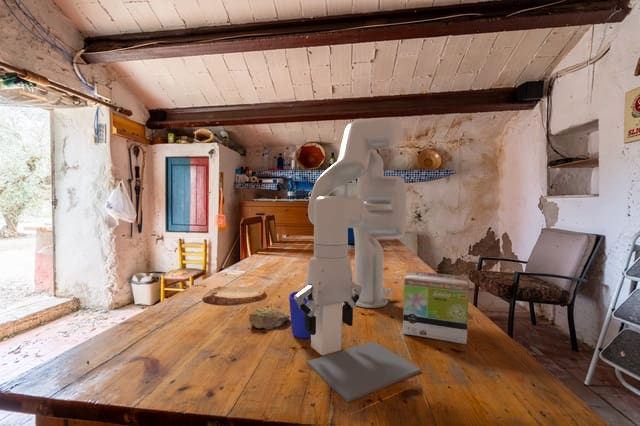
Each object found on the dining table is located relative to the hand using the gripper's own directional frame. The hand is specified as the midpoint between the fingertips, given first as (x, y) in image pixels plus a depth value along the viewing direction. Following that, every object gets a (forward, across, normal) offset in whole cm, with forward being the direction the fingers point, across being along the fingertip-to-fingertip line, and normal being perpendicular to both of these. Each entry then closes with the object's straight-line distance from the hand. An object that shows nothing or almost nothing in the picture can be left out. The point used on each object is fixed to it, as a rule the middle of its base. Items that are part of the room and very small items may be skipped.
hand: (329, 328), depth 66 cm
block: (+5, 0, -2) cm, 6 cm away
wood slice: (+6, +8, -50) cm, 50 cm away
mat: (+5, -2, +9) cm, 11 cm away
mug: (+6, -1, -12) cm, 13 cm away
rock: (+6, +5, -23) cm, 24 cm away
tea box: (+5, -29, +5) cm, 30 cm away
